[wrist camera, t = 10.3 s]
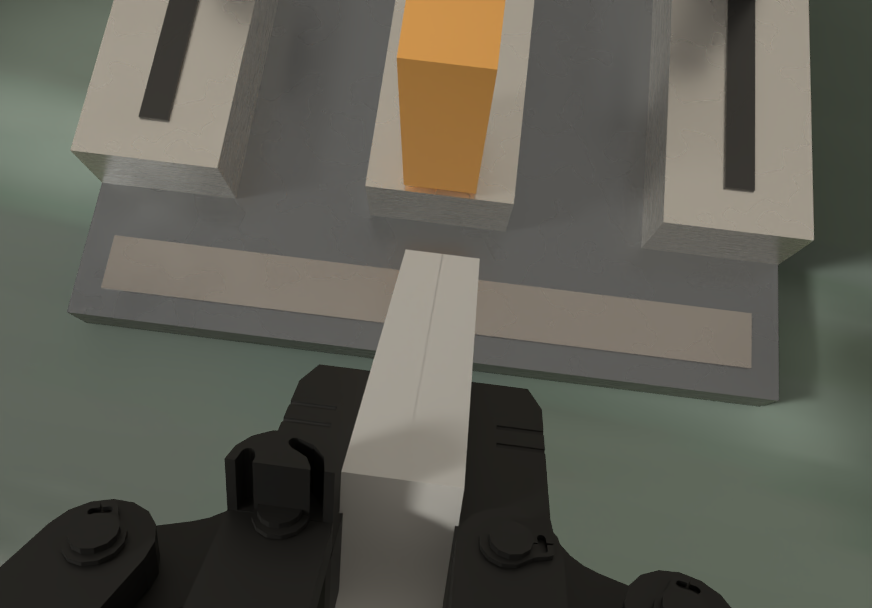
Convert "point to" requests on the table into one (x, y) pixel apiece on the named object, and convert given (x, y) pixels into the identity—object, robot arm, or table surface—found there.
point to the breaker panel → (544, 210)
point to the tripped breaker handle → (447, 89)
